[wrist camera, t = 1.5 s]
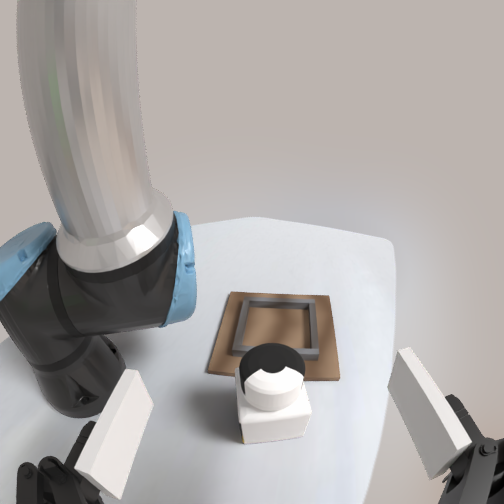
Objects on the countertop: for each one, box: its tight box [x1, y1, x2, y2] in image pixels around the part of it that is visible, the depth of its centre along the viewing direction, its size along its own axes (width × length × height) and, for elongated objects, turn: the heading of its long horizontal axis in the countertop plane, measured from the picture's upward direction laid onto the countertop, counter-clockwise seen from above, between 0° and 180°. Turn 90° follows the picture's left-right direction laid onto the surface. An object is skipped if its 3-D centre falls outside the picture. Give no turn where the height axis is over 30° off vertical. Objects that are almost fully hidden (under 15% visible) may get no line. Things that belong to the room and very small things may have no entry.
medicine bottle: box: [235, 343, 312, 444], centre depth 26 cm, size 7×7×12 cm
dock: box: [208, 292, 340, 381], centre depth 41 cm, size 18×18×2 cm
